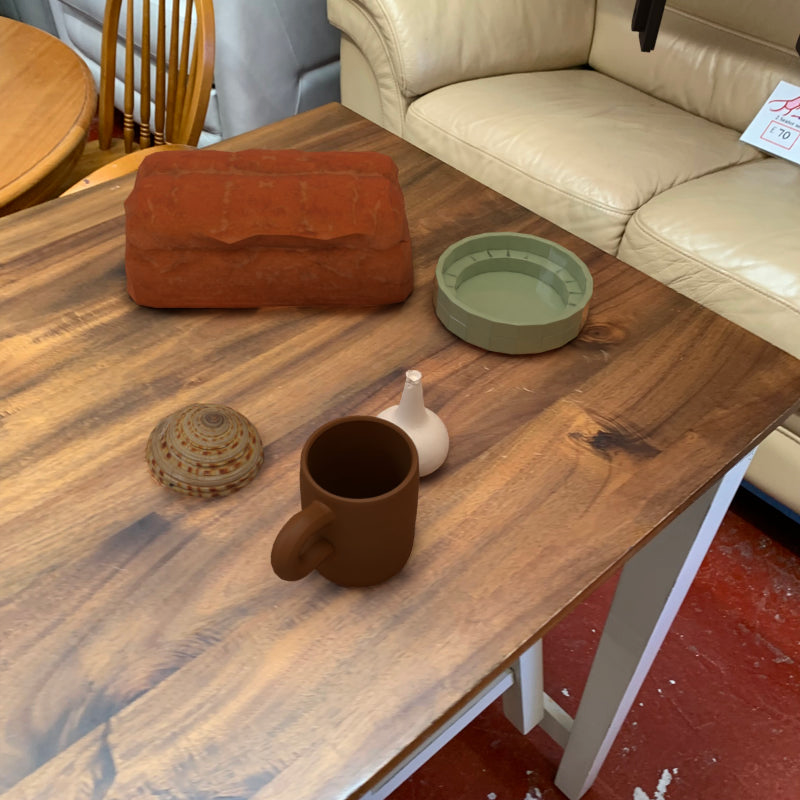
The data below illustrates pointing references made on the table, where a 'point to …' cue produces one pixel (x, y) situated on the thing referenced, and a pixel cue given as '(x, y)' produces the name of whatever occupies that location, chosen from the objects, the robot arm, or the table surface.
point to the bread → (267, 230)
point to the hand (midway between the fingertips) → (724, 51)
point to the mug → (352, 505)
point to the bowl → (512, 292)
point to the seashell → (205, 451)
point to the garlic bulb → (420, 425)
